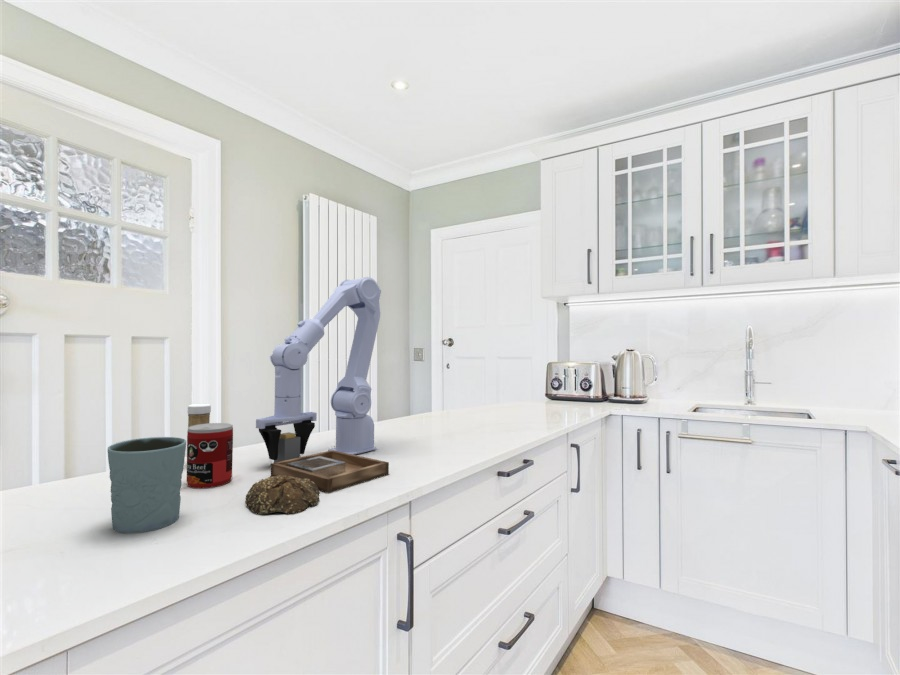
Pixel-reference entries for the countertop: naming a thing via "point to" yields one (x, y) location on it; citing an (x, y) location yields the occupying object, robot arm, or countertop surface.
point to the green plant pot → (146, 483)
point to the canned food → (209, 455)
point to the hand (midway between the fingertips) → (287, 456)
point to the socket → (320, 466)
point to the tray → (355, 473)
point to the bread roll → (282, 495)
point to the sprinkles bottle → (198, 414)
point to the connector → (288, 447)
